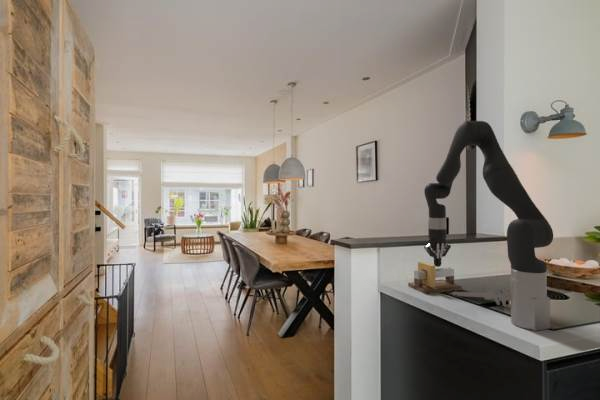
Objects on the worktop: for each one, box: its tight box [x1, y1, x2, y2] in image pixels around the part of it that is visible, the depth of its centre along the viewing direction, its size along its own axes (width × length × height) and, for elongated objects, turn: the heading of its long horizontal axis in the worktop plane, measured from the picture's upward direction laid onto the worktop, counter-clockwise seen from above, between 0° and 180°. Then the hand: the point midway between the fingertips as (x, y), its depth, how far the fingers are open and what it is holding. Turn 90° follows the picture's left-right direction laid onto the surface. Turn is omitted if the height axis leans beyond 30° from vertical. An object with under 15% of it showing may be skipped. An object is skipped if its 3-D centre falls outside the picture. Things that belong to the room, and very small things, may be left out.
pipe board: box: [407, 275, 463, 295], centre depth 146 cm, size 12×18×5 cm, turn 106°
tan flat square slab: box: [417, 261, 436, 287], centre depth 144 cm, size 9×2×9 cm, turn 16°
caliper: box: [450, 289, 507, 308], centre depth 129 cm, size 20×1×6 cm, turn 38°
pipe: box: [413, 267, 455, 279], centre depth 145 cm, size 3×18×3 cm, turn 106°
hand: (437, 266), depth 149 cm, fingers closed
